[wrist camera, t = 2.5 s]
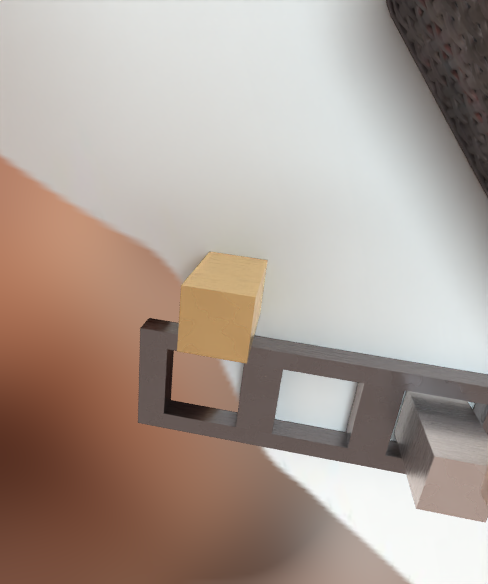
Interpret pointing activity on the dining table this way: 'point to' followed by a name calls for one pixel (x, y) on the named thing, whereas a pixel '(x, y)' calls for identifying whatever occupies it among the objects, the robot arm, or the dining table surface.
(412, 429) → the light grey block
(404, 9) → the storage bin
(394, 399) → the rail
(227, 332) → the maple wood beam
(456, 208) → the dining table surface
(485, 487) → the robot arm
